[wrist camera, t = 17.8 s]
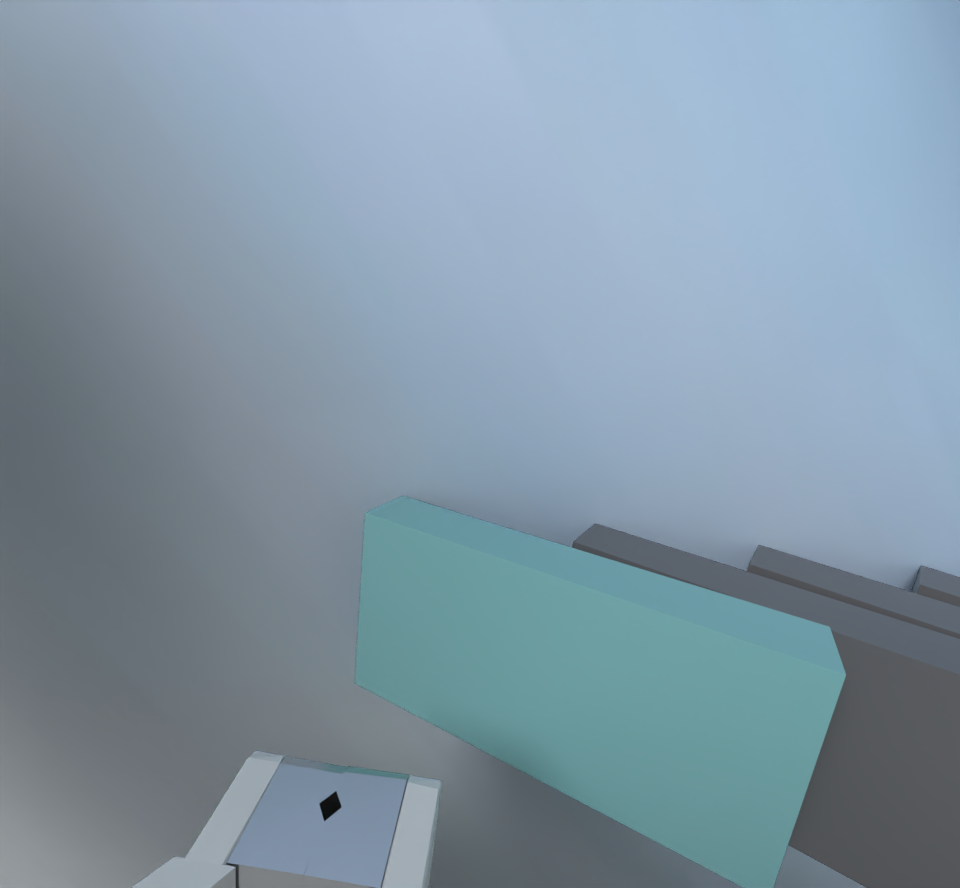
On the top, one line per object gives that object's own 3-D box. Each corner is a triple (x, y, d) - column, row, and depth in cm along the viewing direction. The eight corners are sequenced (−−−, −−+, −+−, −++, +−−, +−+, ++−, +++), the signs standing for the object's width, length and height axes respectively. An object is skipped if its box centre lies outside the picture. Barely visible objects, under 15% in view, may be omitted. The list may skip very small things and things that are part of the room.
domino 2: (543, 711, 13) (1077, 1002, 8) (573, 541, 12) (1217, 763, 7) (566, 679, 15) (1038, 913, 10) (595, 523, 13) (1150, 699, 8)
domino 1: (353, 683, 13) (768, 900, 9) (365, 512, 12) (846, 674, 8) (390, 651, 15) (764, 828, 11) (402, 495, 14) (829, 626, 10)
